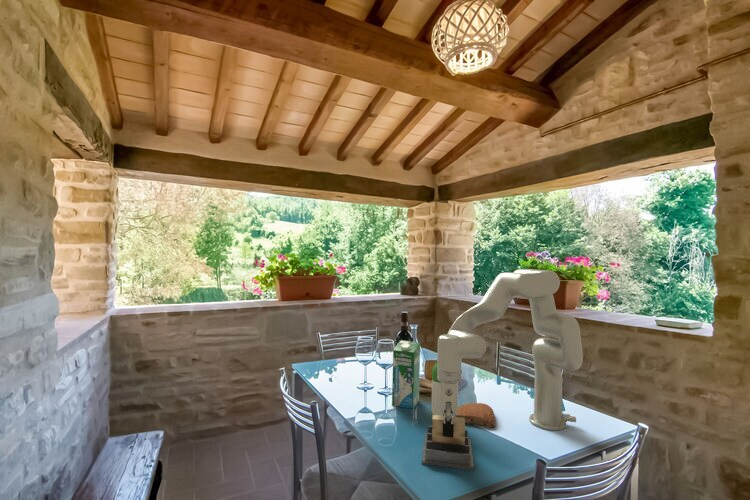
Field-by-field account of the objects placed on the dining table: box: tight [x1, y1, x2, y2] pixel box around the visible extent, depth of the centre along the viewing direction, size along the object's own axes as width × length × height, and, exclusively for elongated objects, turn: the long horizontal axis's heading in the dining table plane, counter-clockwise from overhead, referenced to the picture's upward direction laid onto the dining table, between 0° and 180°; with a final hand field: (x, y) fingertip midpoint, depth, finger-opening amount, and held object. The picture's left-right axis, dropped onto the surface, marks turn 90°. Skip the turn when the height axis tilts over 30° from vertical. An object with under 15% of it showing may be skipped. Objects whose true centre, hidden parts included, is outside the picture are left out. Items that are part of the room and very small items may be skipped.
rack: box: [421, 425, 475, 471], centre depth 119 cm, size 15×17×4 cm
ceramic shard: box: [453, 402, 496, 429], centre depth 144 cm, size 15×6×15 cm
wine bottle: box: [430, 362, 443, 419], centre depth 141 cm, size 8×8×30 cm
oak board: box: [431, 415, 466, 445], centre depth 119 cm, size 10×3×10 cm, turn 80°
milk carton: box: [391, 339, 421, 410], centre depth 157 cm, size 9×9×25 cm
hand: (447, 429), depth 119 cm, fingers open, 9 cm apart
